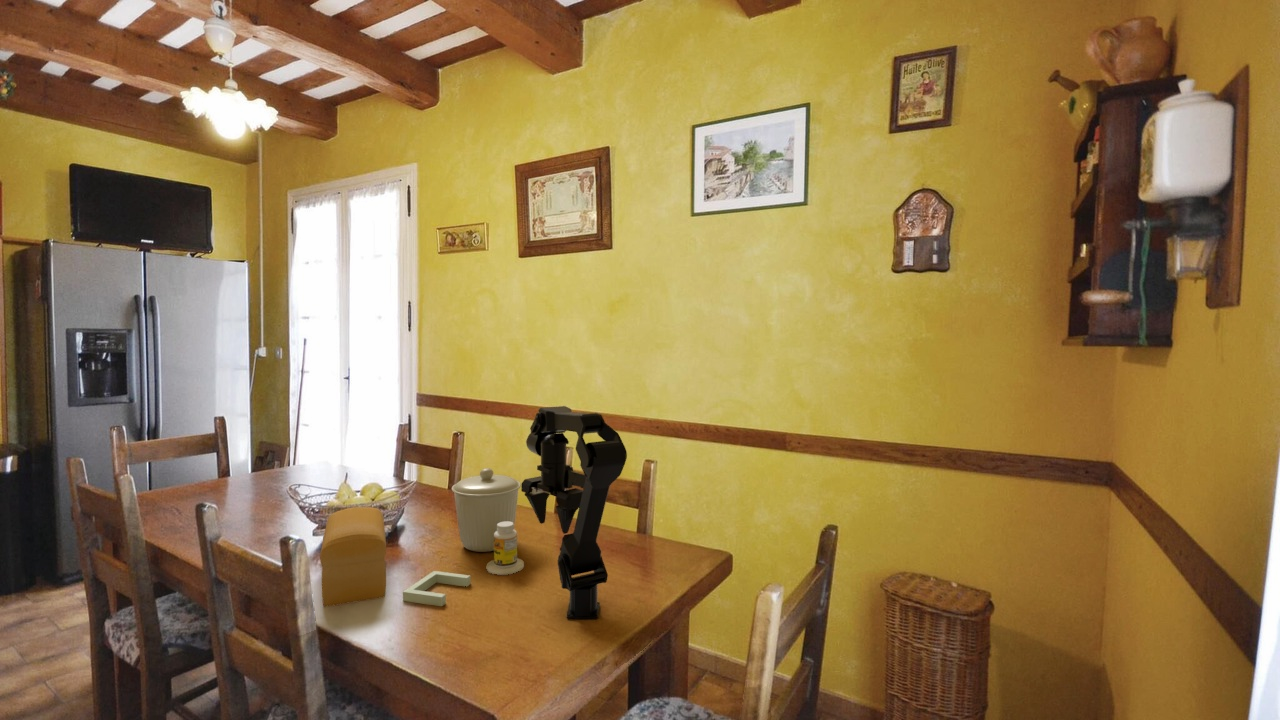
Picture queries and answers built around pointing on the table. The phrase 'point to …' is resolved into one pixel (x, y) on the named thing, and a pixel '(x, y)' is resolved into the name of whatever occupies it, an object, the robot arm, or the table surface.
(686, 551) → the table surface
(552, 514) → the table surface
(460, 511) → the canister
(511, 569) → the coaster
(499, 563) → the supplement bottle
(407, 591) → the pale green u-shaped bracket
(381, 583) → the bread
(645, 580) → the table surface
